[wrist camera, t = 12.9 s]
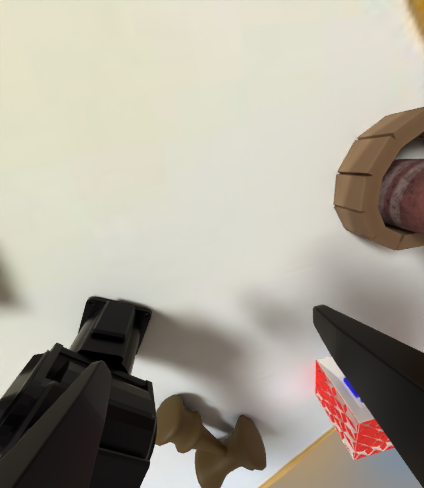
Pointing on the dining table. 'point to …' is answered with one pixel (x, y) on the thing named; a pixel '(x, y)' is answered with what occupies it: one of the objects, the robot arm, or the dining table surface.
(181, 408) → the kendama
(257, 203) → the dining table surface
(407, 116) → the walnut ring
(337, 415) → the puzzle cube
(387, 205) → the can
